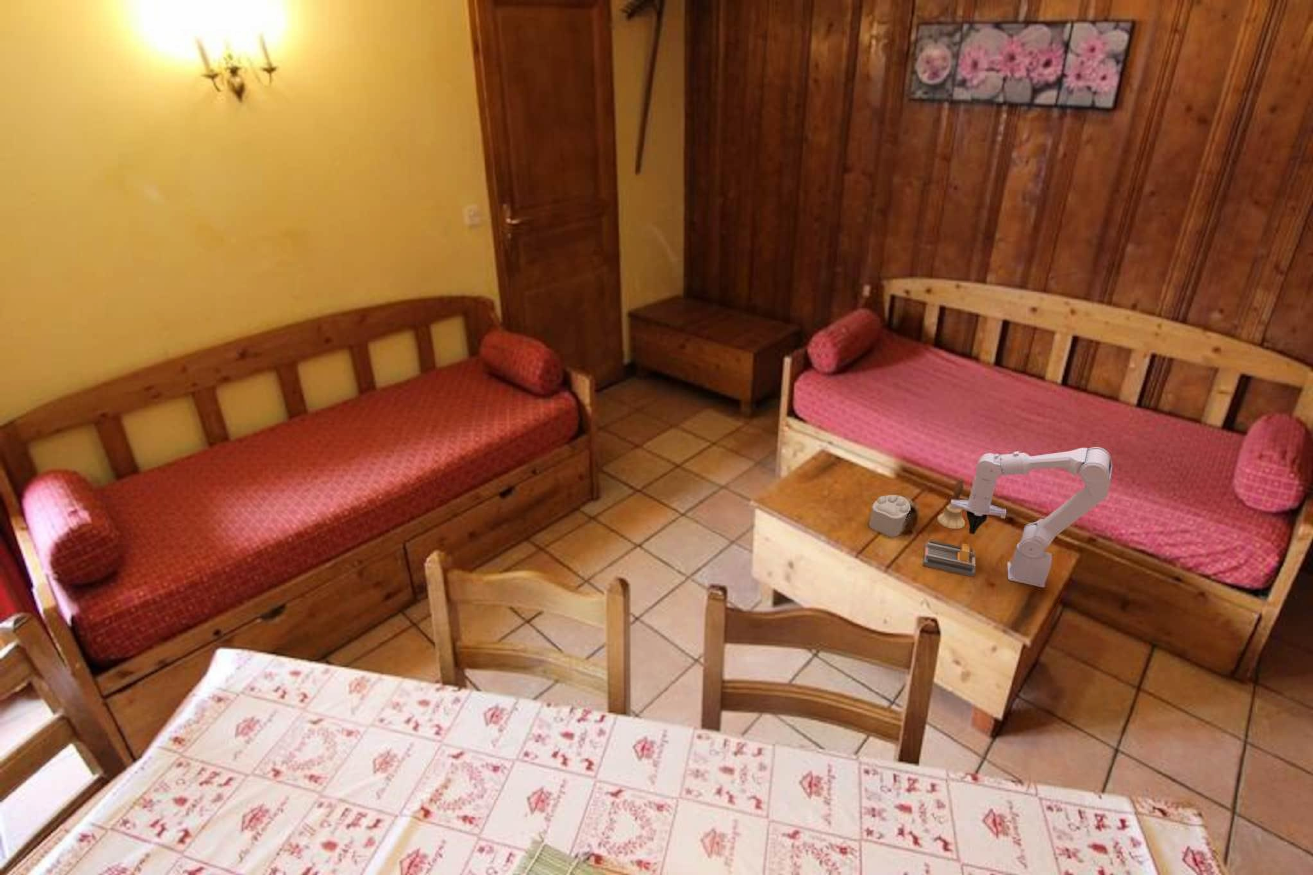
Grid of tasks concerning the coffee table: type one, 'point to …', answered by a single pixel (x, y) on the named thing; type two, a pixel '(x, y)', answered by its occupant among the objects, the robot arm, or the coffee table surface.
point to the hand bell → (953, 511)
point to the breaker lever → (964, 553)
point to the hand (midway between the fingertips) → (971, 531)
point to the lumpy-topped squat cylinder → (889, 514)
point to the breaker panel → (948, 558)
